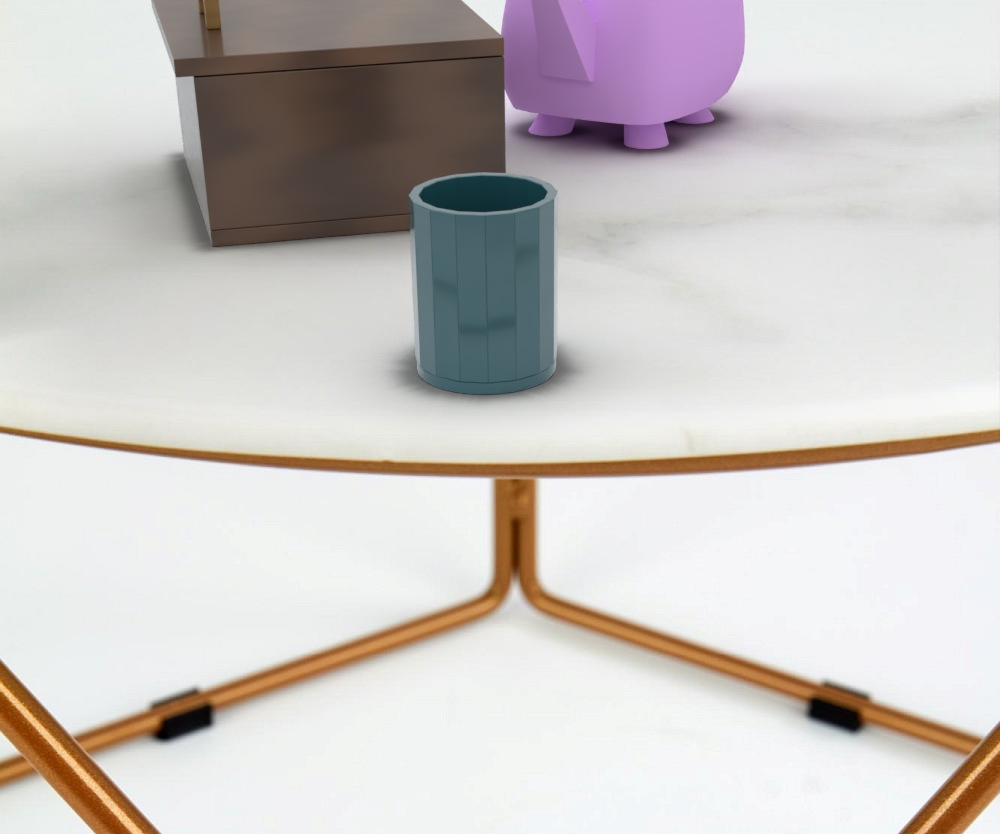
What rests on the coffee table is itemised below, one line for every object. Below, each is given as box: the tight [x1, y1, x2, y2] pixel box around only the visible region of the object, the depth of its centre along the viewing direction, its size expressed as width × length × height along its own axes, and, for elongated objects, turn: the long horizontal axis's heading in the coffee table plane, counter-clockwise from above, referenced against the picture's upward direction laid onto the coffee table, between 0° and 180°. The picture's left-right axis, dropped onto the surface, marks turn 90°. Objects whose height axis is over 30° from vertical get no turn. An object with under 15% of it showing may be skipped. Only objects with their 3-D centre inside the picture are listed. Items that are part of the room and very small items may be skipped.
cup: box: [408, 172, 559, 395], centre depth 67 cm, size 6×6×7 cm
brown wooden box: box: [174, 55, 507, 248], centre depth 88 cm, size 15×17×8 cm
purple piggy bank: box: [500, 0, 746, 150], centre depth 97 cm, size 20×12×13 cm, turn 150°
